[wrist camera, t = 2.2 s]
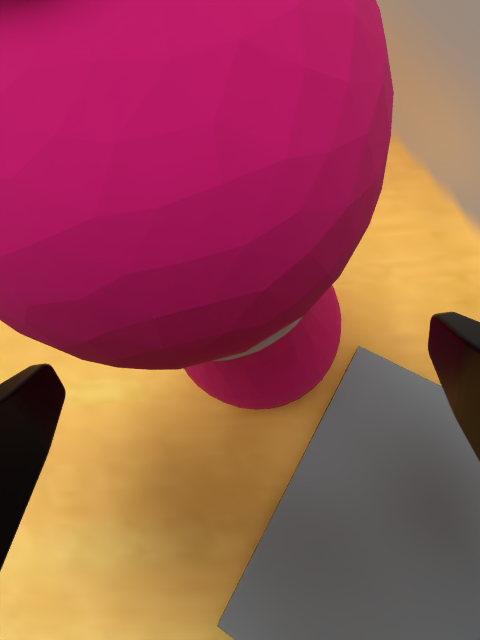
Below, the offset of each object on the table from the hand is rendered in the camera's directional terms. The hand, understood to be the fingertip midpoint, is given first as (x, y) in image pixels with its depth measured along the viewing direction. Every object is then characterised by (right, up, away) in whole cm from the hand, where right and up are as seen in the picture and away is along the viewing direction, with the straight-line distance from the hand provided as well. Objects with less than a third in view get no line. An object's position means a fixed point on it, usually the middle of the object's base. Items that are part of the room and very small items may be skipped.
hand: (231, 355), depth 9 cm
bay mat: (+8, -10, +9) cm, 15 cm away
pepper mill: (+2, 0, +12) cm, 12 cm away
